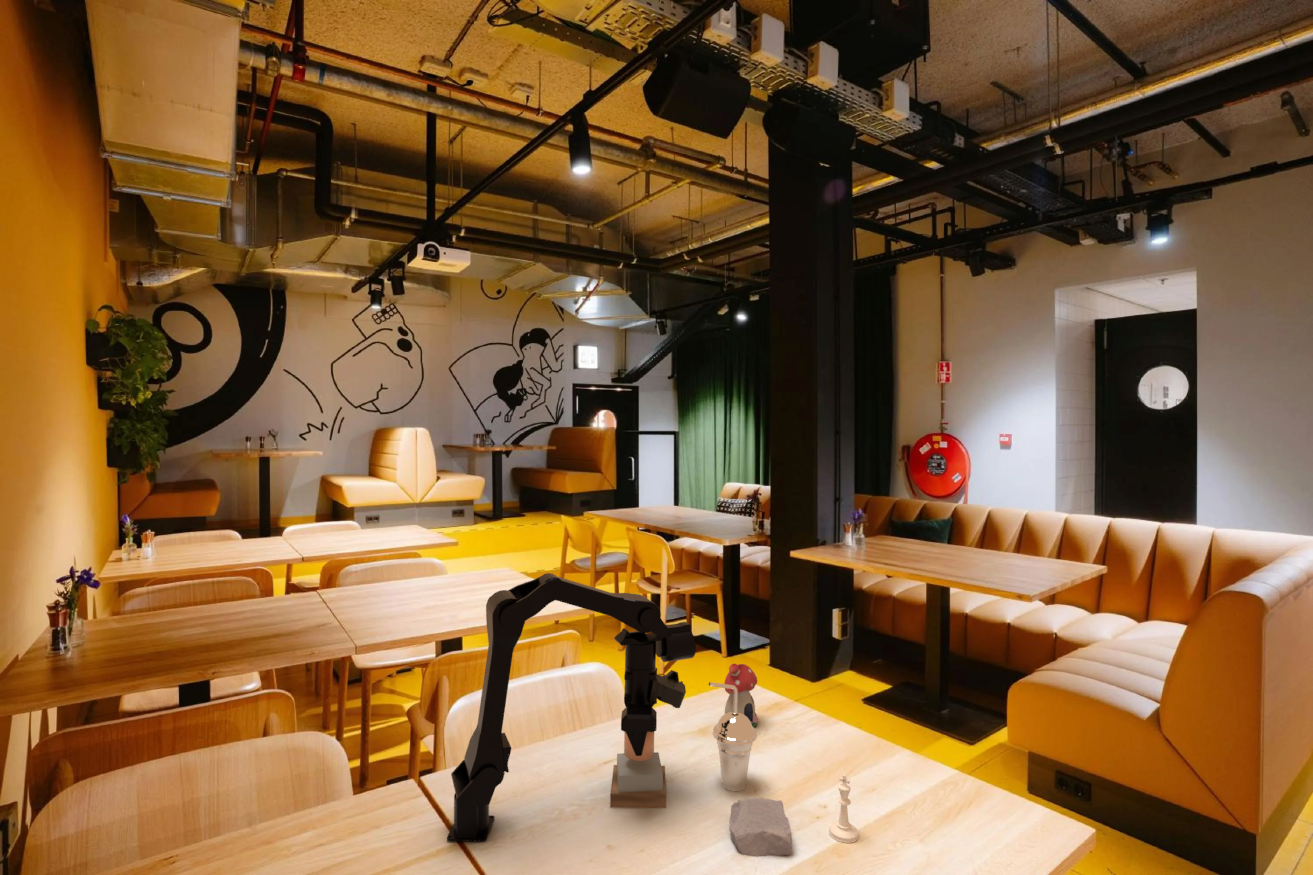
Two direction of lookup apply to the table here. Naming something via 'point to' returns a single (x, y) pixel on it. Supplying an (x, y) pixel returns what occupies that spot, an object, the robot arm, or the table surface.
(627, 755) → the cylinder
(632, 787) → the top slab
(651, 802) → the base slab
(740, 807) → the stone block
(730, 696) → the decorative ornament
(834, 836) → the chess piece
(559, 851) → the table surface
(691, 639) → the robot arm
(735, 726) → the cup with straw
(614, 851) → the table surface
